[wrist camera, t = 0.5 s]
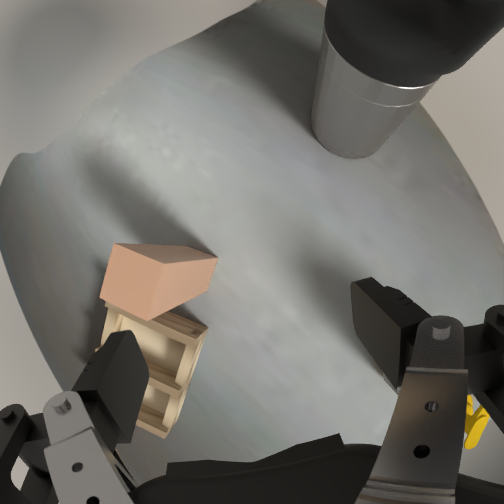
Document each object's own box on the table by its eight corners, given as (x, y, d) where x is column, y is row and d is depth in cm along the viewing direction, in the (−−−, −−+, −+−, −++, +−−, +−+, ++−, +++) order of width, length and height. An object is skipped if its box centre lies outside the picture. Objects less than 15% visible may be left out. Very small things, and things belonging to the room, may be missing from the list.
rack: (127, 292, 36) (106, 297, 31) (208, 327, 35) (196, 339, 30) (106, 383, 37) (87, 397, 32) (177, 419, 36) (164, 438, 31)
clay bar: (186, 245, 36) (113, 242, 20) (218, 257, 35) (164, 263, 19) (175, 278, 36) (99, 297, 20) (206, 291, 35) (147, 321, 19)
